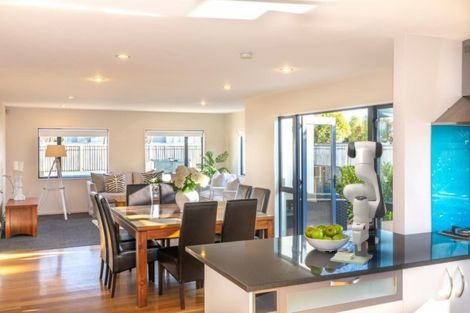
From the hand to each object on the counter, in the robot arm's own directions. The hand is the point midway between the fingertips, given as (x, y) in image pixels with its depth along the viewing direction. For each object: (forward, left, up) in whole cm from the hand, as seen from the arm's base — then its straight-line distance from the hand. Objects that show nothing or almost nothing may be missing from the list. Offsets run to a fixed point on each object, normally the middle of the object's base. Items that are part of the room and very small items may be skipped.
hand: (361, 249), depth 248 cm
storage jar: (-18, -1, -5) cm, 19 cm away
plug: (0, 0, -4) cm, 4 cm away
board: (+5, -4, -5) cm, 8 cm away
